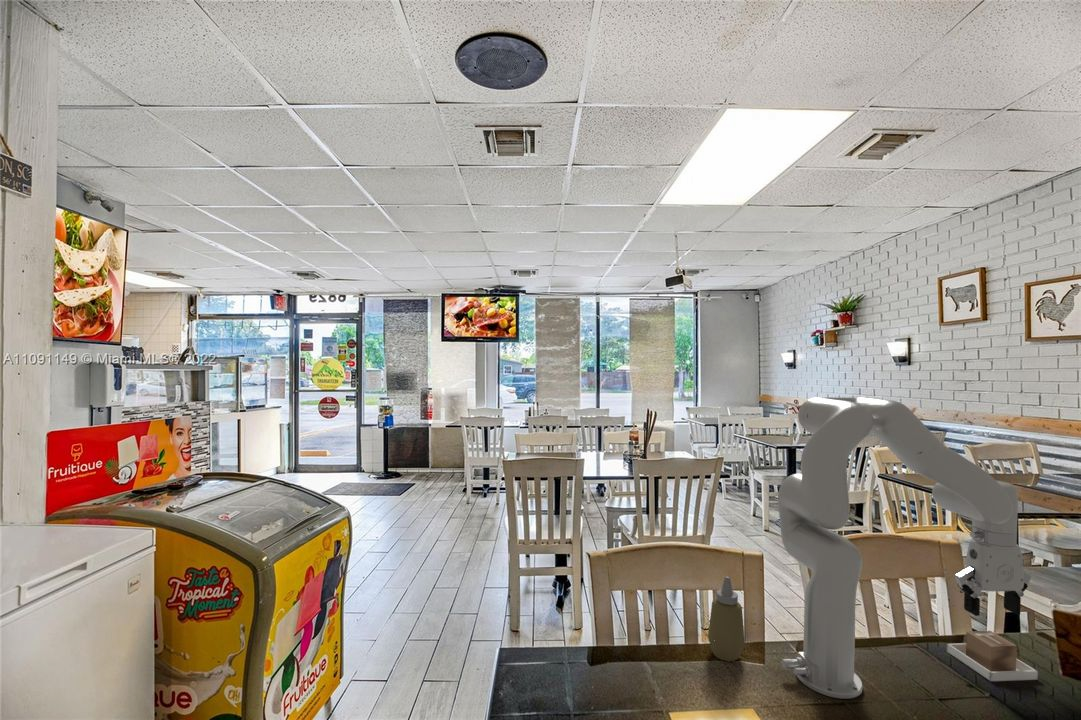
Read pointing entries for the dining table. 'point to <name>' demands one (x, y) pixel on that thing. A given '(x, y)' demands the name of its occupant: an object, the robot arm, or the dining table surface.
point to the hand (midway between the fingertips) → (991, 612)
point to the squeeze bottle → (726, 624)
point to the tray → (1020, 674)
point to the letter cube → (991, 650)
